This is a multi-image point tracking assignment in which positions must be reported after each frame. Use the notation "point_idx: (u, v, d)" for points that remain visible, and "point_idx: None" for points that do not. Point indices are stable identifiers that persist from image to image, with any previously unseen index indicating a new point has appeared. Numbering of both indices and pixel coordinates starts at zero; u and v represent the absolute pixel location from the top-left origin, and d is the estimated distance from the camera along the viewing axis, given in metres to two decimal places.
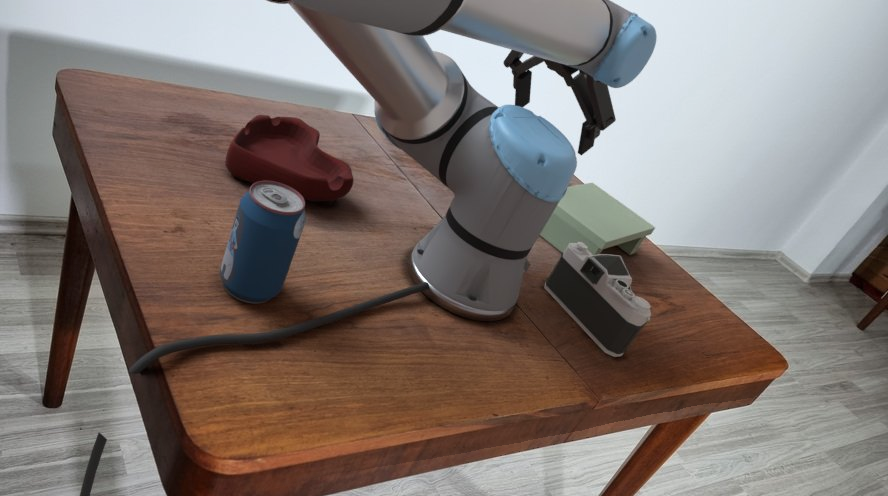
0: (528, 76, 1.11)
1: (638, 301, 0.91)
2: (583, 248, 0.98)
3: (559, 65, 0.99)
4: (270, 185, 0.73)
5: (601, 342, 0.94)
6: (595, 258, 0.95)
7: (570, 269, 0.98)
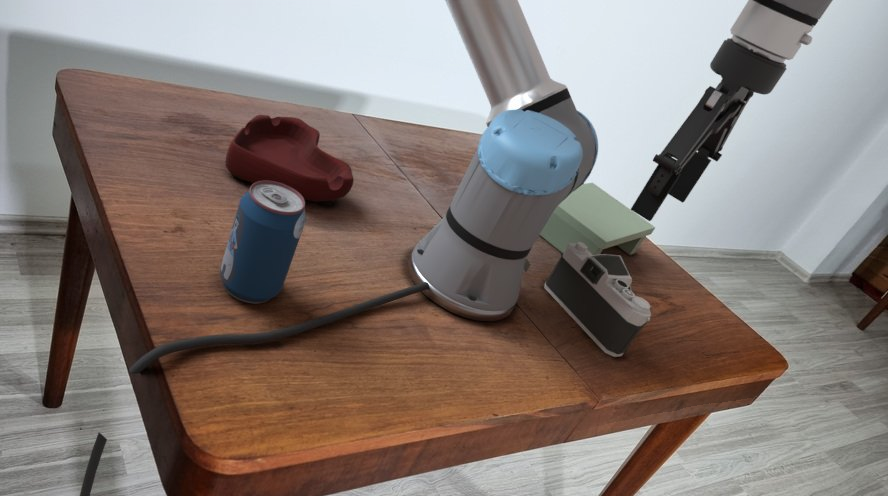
0: (703, 161, 0.93)
1: (638, 301, 0.91)
2: (583, 248, 0.98)
3: None
4: (270, 185, 0.73)
5: (601, 343, 0.94)
6: (595, 258, 0.95)
7: (570, 269, 0.98)
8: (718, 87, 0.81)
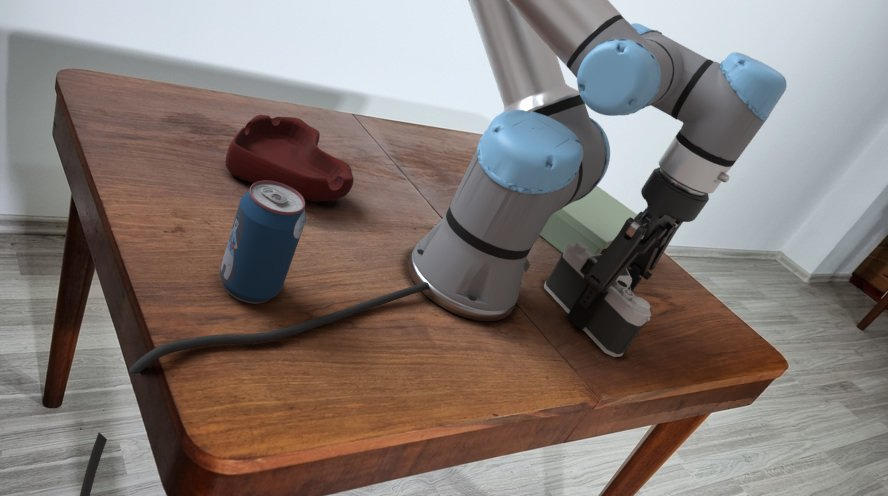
0: (633, 278, 1.00)
1: (638, 301, 0.91)
2: (583, 248, 0.98)
3: None
4: (270, 185, 0.73)
5: (601, 343, 0.94)
6: (595, 258, 0.95)
7: (570, 269, 0.98)
8: (643, 212, 0.88)
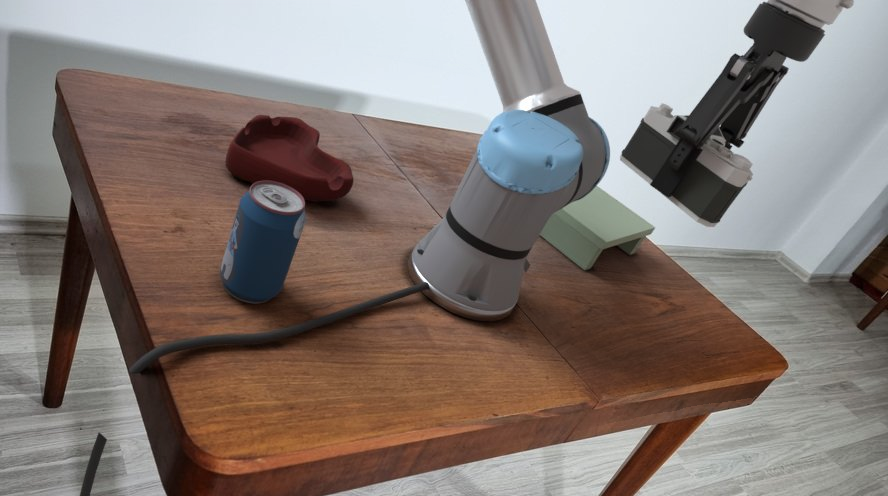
0: None
1: (738, 157, 0.79)
2: (668, 109, 0.87)
3: None
4: (270, 185, 0.73)
5: (692, 211, 0.83)
6: (685, 116, 0.84)
7: (653, 133, 0.87)
8: (749, 51, 0.77)
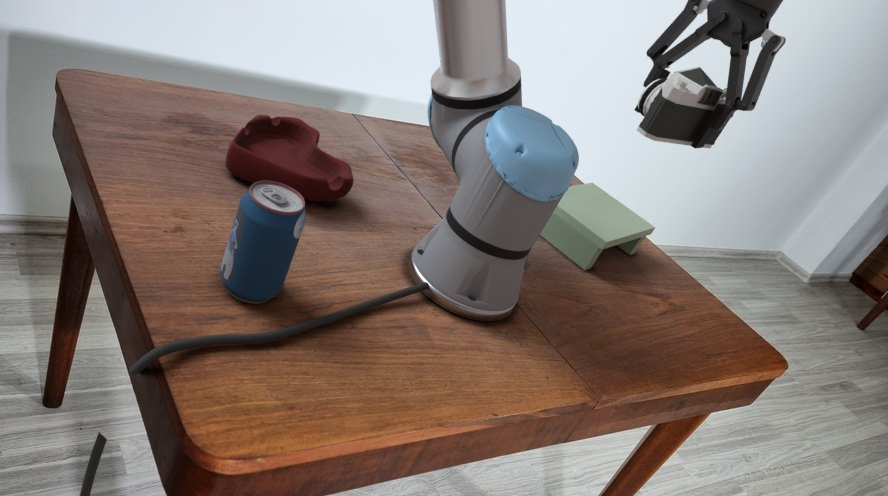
0: (666, 75, 1.02)
1: None
2: (686, 83, 0.94)
3: (738, 25, 0.92)
4: (270, 185, 0.73)
5: (709, 144, 1.03)
6: (707, 84, 0.95)
7: (685, 108, 0.95)
8: (764, 22, 0.91)
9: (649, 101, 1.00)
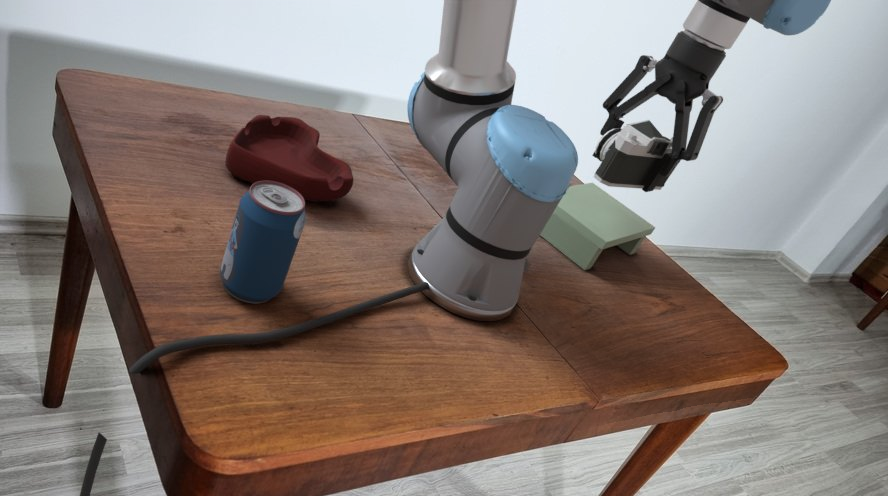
0: (620, 124, 1.13)
1: None
2: (636, 136, 1.05)
3: (681, 86, 1.03)
4: (270, 185, 0.73)
5: (659, 186, 1.15)
6: (655, 137, 1.06)
7: (636, 158, 1.07)
8: (704, 84, 1.02)
9: (605, 149, 1.12)
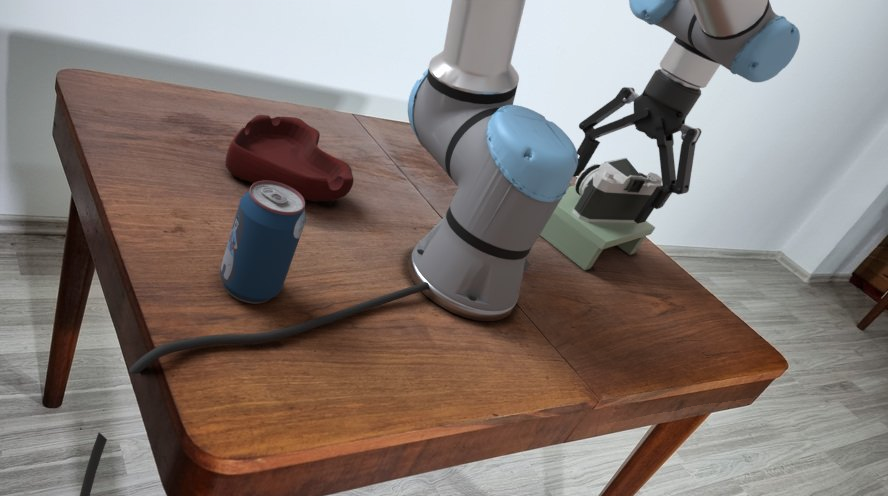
0: (596, 144, 1.17)
1: (659, 178, 1.15)
2: (613, 174, 1.09)
3: (658, 122, 1.07)
4: (270, 185, 0.73)
5: None
6: (631, 175, 1.10)
7: (613, 195, 1.10)
8: (680, 121, 1.06)
9: (584, 185, 1.15)
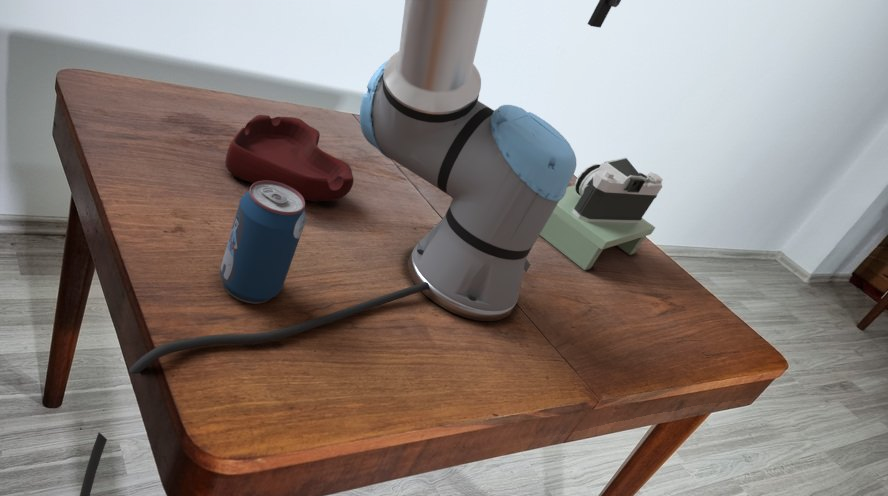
0: None
1: (659, 178, 1.15)
2: (613, 174, 1.09)
3: None
4: (270, 185, 0.73)
5: (636, 220, 1.18)
6: (631, 175, 1.10)
7: (613, 195, 1.10)
8: None
9: (584, 185, 1.15)
